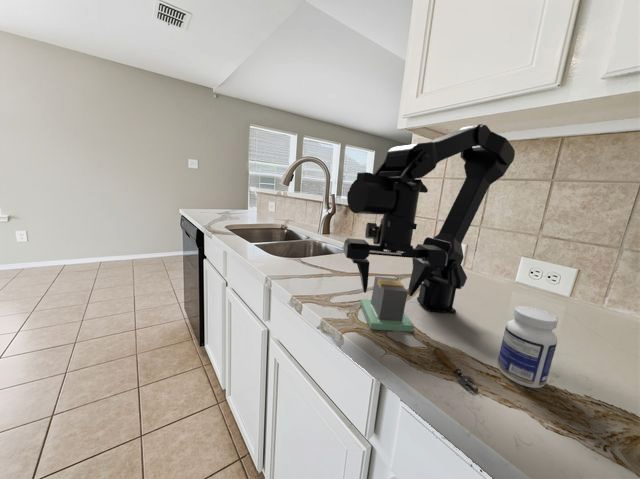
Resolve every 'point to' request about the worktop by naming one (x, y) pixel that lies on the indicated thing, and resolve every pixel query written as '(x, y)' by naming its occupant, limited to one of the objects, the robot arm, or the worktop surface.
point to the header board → (385, 324)
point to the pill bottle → (528, 347)
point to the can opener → (456, 371)
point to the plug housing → (389, 298)
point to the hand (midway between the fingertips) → (387, 293)
